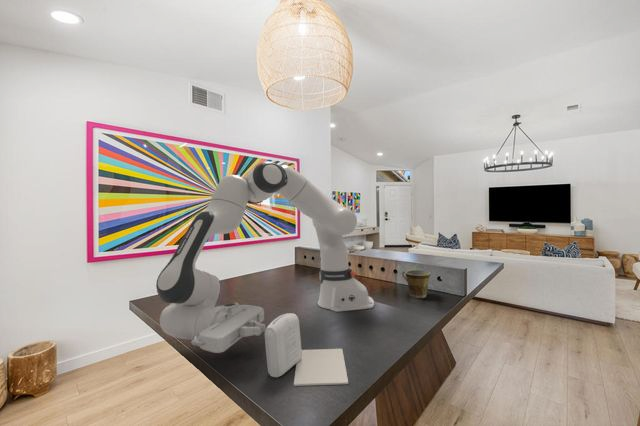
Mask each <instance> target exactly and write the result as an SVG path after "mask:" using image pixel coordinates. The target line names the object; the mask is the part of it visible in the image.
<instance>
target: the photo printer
mask: <svg viewBox="0 0 640 426" xmlns="http://www.w3.org/2000/svg"><path fill="white" fill-rule="evenodd" d="M301 339H302V338H301V329H300V321H299V317H298V316H297V315H296V314H295V313H293V312H291V313H290V312H288V313H284V314H281V315H278V316H277V317H276V318H274V319H273V320H272V321H271V322H270V323H268V325H267V327H265V331H264V343H265V344H264V345H265V355H266V364H267V372H268V374H269V376H271V377H272V378H279V377H281V376H283V375H285V373H287V372H288V371H289V370H290V369H291V368H292V367H294V366H296V363H297V362H298V361H299V360H300V359H301V358H302V350H303V349H302V340H301Z"/></svg>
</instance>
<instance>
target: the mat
mask: <svg viewBox="0 0 640 426" xmlns="http://www.w3.org/2000/svg"><path fill="white" fill-rule="evenodd" d="M301 350H302V358H301V359H300V360H299V361H298V362H297V363H296V364H295V373H294V380H293V387H303V386H330V385H331V386H332V385H335V386H336V385H349V379H348V375H347V374H348V373H347V367H346V363H345V356H344V352H343V348H324V349H323V348H322V349H320V348H319V349H301Z"/></svg>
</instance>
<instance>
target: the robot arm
mask: <svg viewBox="0 0 640 426" xmlns="http://www.w3.org/2000/svg"><path fill="white" fill-rule="evenodd" d="M275 193H276V194H279V195H280V196H282V197H283V198H284V199H285V200H286V201H288V203H290V204H291V205H293V207H295V208H296V209H297V210H298V211H299V212H301V213H302V214H303V215H305V216H307V217H309V219H311V220H312V221H311V222H312V225H313V227H314V228H315V232H316V235H317V236H316V237H317V240H318V245H319V253H320V255H319V256H320V269H319V282H320V288H319V289H320V290H319V296H318V301H317V305H318V306H319V307H321V308H322V309H326V310H331V311H332V312H346V311H347V312H348V311H358V310H367V309H372V308H374V307H375V301H374V299H373V298H372V297H371V296H370V295H369V292H368V289H367V287H366V286H365V285H364V284H363V283H362V282H360V281H358V280H357V279H356V278H355V277H356V272H355V271H354V270H353V269H352V268H350V267H349V250H348V248H347V247H348V246H347V245H346V243H345V241H344V239H343V236H346V235H349V234H351V233H352V232H354V230H355V229H356V228H357V226H358V225H357V224H358V220H357V219H358V218H357V215H356V213H355V212H354V211H353V210H351V209H349V208H347V207H345V206H343V205H342V204H341V203H339V202H338V201H336V200H335V199H334V198H331V197H330V196H329V195H327V194H325V193H324V192H323V191H321V190H320V189H319V188H318V187H317V186H315V185H314V183H312V182H311V181H310V180H309V179H307V177H305V175H303V174H301V172H299V171H298V170H296V169H294V168H293V167H292V166H290V165H288V164H282V165H280V164H277V163H276V162H273V161H263V162H260V163H258V164H257V165H256V166H255V167H254V168H252V169H251V170H250V171H249V172H248V173H247V174H246V175H245V176H244V177H242V176H239V175H236V174H228V175H224V176H223V177H222V178H221V180H220V181H219V182H218V184H217V186H216V188H215V190H214V191H213V193H212V196H211V198H210V201H209V203H208V205H207V207H206V208H205V210H204V211H201V212H199V213H198V214H197V215H196V216H195V217H194V219H192V221H191V223H190V224H189V226H188V228H187V230H186V232H185V234H184V235H183V237H182V239H181V240H180V242H179V244H178V246H177V248H176V249H175V251H174V253H173V255H172V257H171V258H170V260H169V261H168V263H166V265H165V267H164V268H163V269H162V270H161V271H160V273H159V275H158V277H157V279H156V284H155V285H156V288H155V289H156V292H157V295H158V297H159V299H160V300H161V301H162V302H164V303H168V304H169V305H167V306H165V308H164V309H163V310H162V311H161V313H160V316H159V324H160V325H159V326H160V328H161V330H162V331H163V332H164V333H165V334H166V335H167V336H169V337H174V338H178V339H182V340H191V341H190V343H191V345H193V346H198V347H199V349H202V351H207V352H209V353H215V354H221V353H224V352H225V351H227V350H228V349H229V348H230V347H232V346H233V345H235V344H236V343H237V342H238V341H239V340H241V339H243V337H244V338H246V337H251V336H257V337H258V336H260V335H261V334H262V333H263V332H265V330H266V324H265V323H262V322H263V321H264V320H265V310H264V308H263V307H261V306H258V305H257V306H256V305H249V304H239V302H230V303H228V304H222V305H217V303H218V300H219V297H220V294H221V287H222V286H221V282H220V279H219V277H217V276H216V275H213V274H211V273H209V272H206V271H204V270H203V271H202V270H200V269H197V268H196V262H197V260H198V259H199V257H200V254H201V252H202V250H203V249H204V246H205V244H206V242H207V240H208V239H209V238H210V237H211V236H213V235H226V234H231V233H233V232H235V231H236V230H237V229H239V227H240V225H241V223H242V222H243V219H244V216H245V211H246V208H247V206H248V205H247V204H251V205H256V204H260V203H262V202H264V201H266V200H268V199H270V198H271V197H272V196H273V195H274V194H275Z"/></svg>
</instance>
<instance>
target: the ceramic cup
mask: <svg viewBox="0 0 640 426" xmlns="http://www.w3.org/2000/svg"><path fill="white" fill-rule="evenodd" d="M404 274H405V275H404ZM401 275H402V277H403V278H404V280H406V282H407V286H408V291H409V295H410V297H412V298H416V299H425V298H426V297H427V294H428V288H429V283H430V276H431V273H430V272H429V271H426V270H420V269H412V270H411V269H410V270H406V271H403V272H402V274H401Z"/></svg>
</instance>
